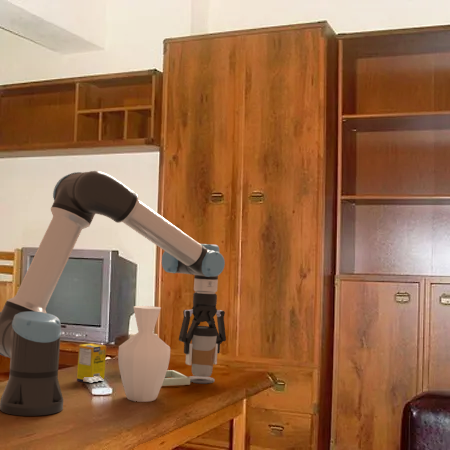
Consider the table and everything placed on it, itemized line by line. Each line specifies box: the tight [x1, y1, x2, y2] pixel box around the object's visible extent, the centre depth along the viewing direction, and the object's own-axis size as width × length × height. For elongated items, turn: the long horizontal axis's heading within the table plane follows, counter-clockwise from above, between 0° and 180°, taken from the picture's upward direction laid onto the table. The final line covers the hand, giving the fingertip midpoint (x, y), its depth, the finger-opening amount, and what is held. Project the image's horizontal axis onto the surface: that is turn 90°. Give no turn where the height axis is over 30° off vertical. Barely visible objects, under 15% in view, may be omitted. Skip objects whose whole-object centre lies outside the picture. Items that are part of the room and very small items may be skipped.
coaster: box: [188, 375, 215, 385], centre depth 220 cm, size 9×9×1 cm
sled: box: [129, 333, 191, 387], centre depth 220 cm, size 13×25×12 cm, turn 28°
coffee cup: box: [191, 325, 218, 377], centre depth 220 cm, size 8×8×15 cm
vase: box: [117, 305, 171, 403], centre depth 191 cm, size 14×14×25 cm
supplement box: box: [76, 343, 107, 383], centre depth 210 cm, size 6×6×11 cm
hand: (201, 363), depth 221 cm, fingers closed on coffee cup, 8 cm apart
